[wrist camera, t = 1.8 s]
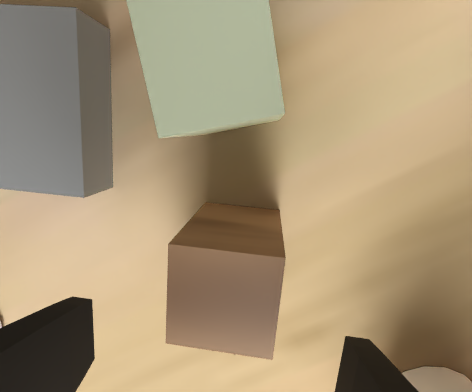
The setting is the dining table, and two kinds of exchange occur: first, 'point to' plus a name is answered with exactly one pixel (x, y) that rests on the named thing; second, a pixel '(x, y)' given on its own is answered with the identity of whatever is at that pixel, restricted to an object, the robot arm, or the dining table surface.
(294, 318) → the dining table surface
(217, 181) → the dining table surface
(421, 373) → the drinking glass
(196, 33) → the sage block
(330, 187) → the dining table surface
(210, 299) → the walnut block
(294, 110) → the dining table surface
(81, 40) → the gray slab
